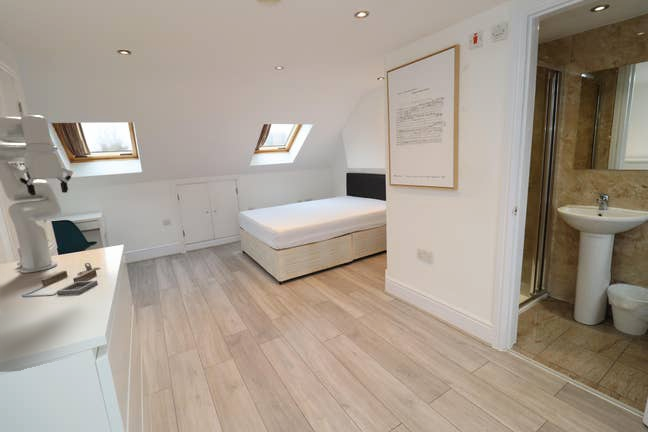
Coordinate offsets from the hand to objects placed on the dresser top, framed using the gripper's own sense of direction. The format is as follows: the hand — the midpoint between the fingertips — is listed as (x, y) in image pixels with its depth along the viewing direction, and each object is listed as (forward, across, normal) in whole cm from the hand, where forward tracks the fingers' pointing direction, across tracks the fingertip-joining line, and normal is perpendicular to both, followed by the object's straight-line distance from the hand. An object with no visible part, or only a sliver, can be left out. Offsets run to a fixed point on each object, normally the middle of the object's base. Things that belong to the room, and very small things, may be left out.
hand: (49, 193), depth 118 cm
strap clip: (+36, -9, -3) cm, 37 cm away
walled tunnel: (+36, 0, +2) cm, 36 cm away
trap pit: (+36, +2, +17) cm, 40 cm away
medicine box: (+36, -2, -48) cm, 60 cm away
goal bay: (+36, +8, +8) cm, 38 cm away
